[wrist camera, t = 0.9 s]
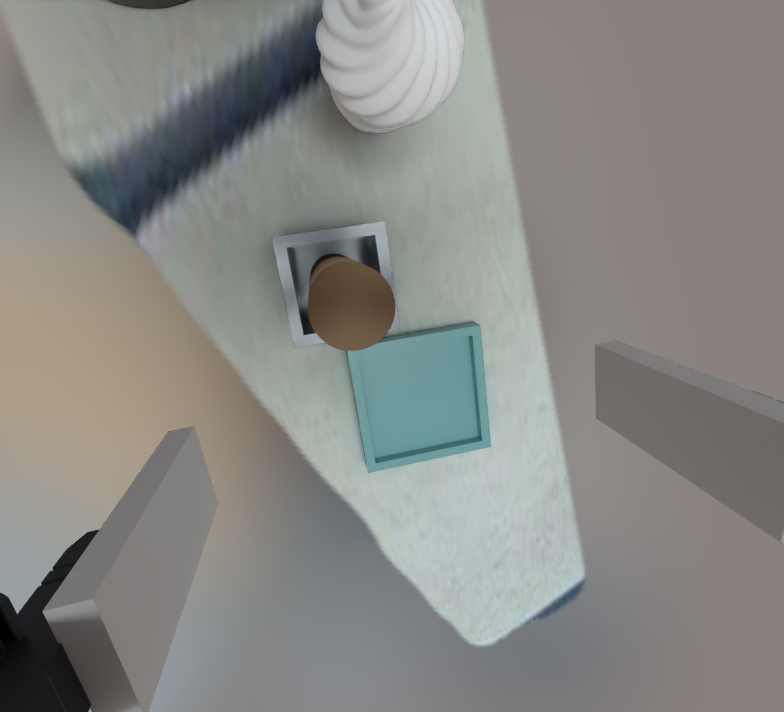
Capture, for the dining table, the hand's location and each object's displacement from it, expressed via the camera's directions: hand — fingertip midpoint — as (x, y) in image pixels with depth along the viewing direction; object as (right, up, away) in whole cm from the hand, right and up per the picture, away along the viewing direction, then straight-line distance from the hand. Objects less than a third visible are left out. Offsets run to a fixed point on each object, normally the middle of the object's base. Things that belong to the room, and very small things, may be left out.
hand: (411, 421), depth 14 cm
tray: (+2, -2, +28) cm, 28 cm away
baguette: (-5, +9, +23) cm, 25 cm away
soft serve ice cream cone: (-3, +22, +21) cm, 31 cm away
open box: (-6, +9, +24) cm, 26 cm away
